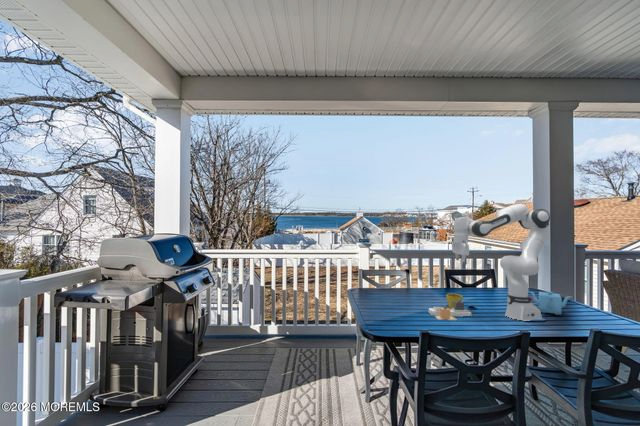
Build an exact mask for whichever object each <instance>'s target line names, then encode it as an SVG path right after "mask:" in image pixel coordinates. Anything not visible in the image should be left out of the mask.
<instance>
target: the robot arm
mask: <svg viewBox="0 0 640 426" xmlns="http://www.w3.org/2000/svg"><path fill="white" fill-rule="evenodd" d="M550 221H551V215H550V213H549V211H547V210H546V209H543V208H537V209H535V210H529V208H528V207H527V205H526V204H525V203H524V204H523V203H516V204H512V205H510V206H509V205H508V206H506V207H503V208H502V209H499V211H498V210H497V213H496V217H494V218H492V219H488V220H474V219H472V218H471V217H469V216H467V215H459V216H456V217H455V219H454V221H453V230H454V232H453V237H452V238H451V251H452V253H453V254H454V255H455V256H454V257H455V261H460V262H461V263H465V262H466V257H468V256H470V245H469V244H468V243H469V235H470V236H474V237H480V238H484V237H486V236H488V235H490V233H491V232H493V231H494V230H496V229H499V228H501V227H503V226H506V225H511V224H514V223H517V222H518V223H519V225H520V227H522V228H523V229H525V230H529V233H528V235H527V236H526V237H525V239H524V240H523V242H521V244H520V251H521V254H520V255H519V256H518V255H504V256H503V257H501V259H500V260H499V261H500V262H499V265H500V268H502V270H503V271H504V273H505V276H506V279H507V288H508V289H507V295H506V297H507V298H506V300H507V301H506V303H507V304H506V305H507V306H506V310H505V313H504V317H506V316H507V317H506V318H508V317H509V318H508V319H511V318H512V319H511V320H514V319H517V320H516V321H519V320H523V321H530V320H532V319H542V317H543V316H542V315H543V314H541V311H540V310H539V307H537V306H536V305H534V304H533V303H532V302H535V300H534V298H533V297H530V296H529V283H528V282H527V281H526V280H525V278H524V276H535V275H537V274H538V273H539V270H540V264H539V262H538V258H539V255H540V253H541V252H542V250H543V249H544V247H545V245H546V244H547V243H548V241H549V238H550V237H551V233H550V231H549V229H547V227H549V225H550ZM459 256H461V260H460V257H459ZM523 321H522V322H523Z"/></svg>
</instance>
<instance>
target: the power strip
mask: <svg viewBox="0 0 640 426" xmlns="http://www.w3.org/2000/svg"><path fill="white" fill-rule="evenodd" d="M440 308H444V306H433V308H432V307H431V308H430V307H429V308H428V310H427V311H428V313H429V314H430V315H431V316H440ZM450 316H454V317H463V316H471V317H472V312H471V311H470V310H469V309H465V308H464V310H455V309H454V308H452V309H450Z"/></svg>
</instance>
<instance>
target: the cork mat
mask: <svg viewBox="0 0 640 426" xmlns="http://www.w3.org/2000/svg"><path fill="white" fill-rule="evenodd" d="M433 316H434V318H435V319H437V320H438V321H439V320H440V321H458V320H459V319H458V318H456V316H450V319H447V318H441V317H440V315H433Z"/></svg>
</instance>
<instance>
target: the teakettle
mask: <svg viewBox="0 0 640 426" xmlns="http://www.w3.org/2000/svg"><path fill="white" fill-rule="evenodd" d="M529 293H530V294H531V295H532V298H534V300H535V301H534V303H535V304H536V305H538V309H539V310H540V311H541V312H546V314H547V313H549V314H553V313H558V315H562V308H564V307H565V306H566V305H567V303H568V300H569V299H572V296H565V297H564V299H563V301H562V297H561V294H560V293H553V291H548V290H547V291H546V292H544V291H538V297H537V296H536V293H535V292H534V291H528V294H529Z"/></svg>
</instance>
